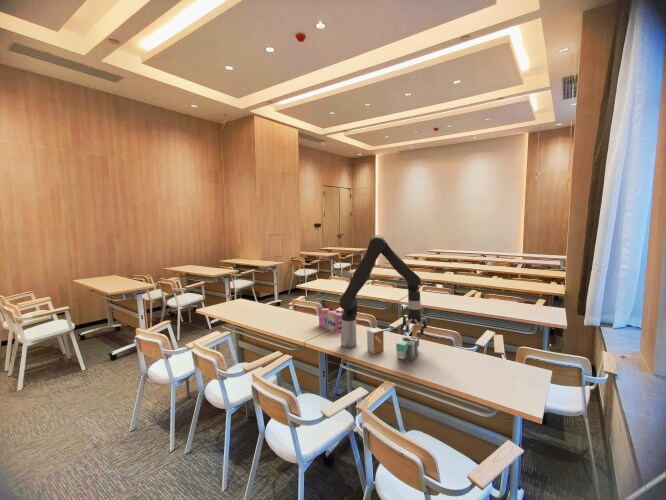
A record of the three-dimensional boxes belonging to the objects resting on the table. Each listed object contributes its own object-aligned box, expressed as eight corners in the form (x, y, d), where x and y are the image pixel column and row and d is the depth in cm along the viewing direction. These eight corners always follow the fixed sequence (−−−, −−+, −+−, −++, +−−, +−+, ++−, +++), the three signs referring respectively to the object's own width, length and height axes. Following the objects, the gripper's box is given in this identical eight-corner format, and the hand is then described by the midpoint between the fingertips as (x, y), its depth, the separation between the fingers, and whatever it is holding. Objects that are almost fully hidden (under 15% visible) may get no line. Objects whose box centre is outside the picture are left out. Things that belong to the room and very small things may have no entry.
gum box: (345, 331, 225) (345, 313, 224) (337, 333, 220) (336, 315, 219) (327, 323, 244) (326, 306, 243) (318, 325, 239) (318, 308, 238)
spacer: (396, 350, 171) (396, 343, 170) (399, 347, 175) (399, 340, 174) (404, 352, 168) (404, 345, 168) (408, 349, 172) (408, 342, 172)
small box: (373, 353, 184) (373, 332, 183) (367, 350, 189) (366, 329, 188) (383, 350, 188) (383, 329, 187) (377, 347, 194) (376, 327, 193)
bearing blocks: (397, 358, 177) (397, 342, 176) (403, 352, 185) (403, 336, 184) (411, 362, 172) (411, 345, 171) (417, 355, 180) (417, 339, 179)
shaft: (396, 358, 171) (395, 349, 170) (411, 344, 190) (411, 336, 190) (404, 360, 168) (404, 351, 167) (419, 345, 188) (419, 337, 187)
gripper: (400, 307, 187) (401, 333, 188) (424, 310, 179) (424, 337, 180) (405, 304, 193) (405, 329, 194) (428, 307, 185) (428, 333, 186)
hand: (414, 333), depth 187 cm, fingers open, 8 cm apart
